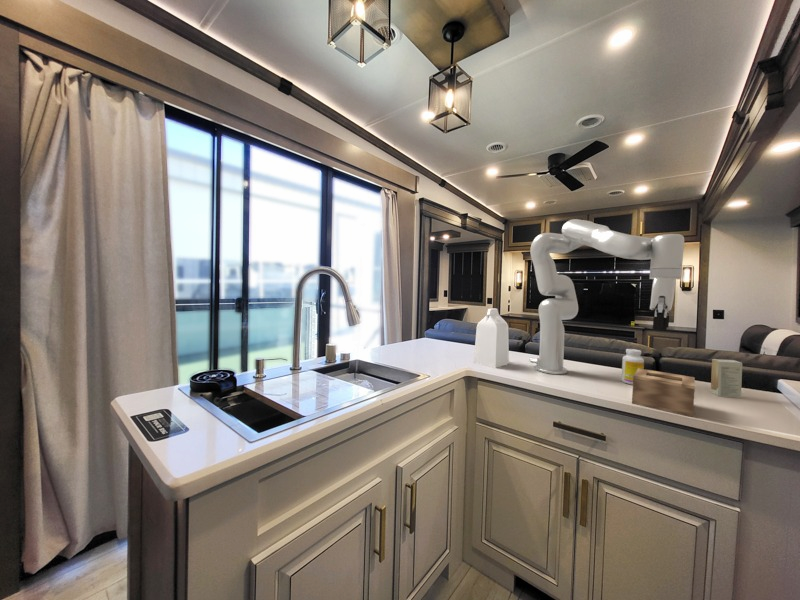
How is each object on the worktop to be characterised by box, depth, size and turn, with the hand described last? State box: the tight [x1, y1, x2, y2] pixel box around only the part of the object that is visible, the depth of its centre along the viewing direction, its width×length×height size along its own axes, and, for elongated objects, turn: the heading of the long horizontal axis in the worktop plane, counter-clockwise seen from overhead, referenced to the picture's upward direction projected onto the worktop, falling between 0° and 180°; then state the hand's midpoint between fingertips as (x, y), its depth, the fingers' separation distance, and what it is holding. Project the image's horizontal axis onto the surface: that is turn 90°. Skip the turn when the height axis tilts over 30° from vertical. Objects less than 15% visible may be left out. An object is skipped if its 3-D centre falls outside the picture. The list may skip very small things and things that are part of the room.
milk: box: [473, 308, 510, 369], centre depth 144 cm, size 12×12×26 cm
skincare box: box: [710, 358, 743, 399], centre depth 105 cm, size 6×4×12 cm
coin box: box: [631, 368, 696, 418], centre depth 96 cm, size 14×12×9 cm
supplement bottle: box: [621, 348, 645, 386], centre depth 117 cm, size 7×7×13 cm
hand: (660, 328), depth 97 cm, fingers open, 9 cm apart
